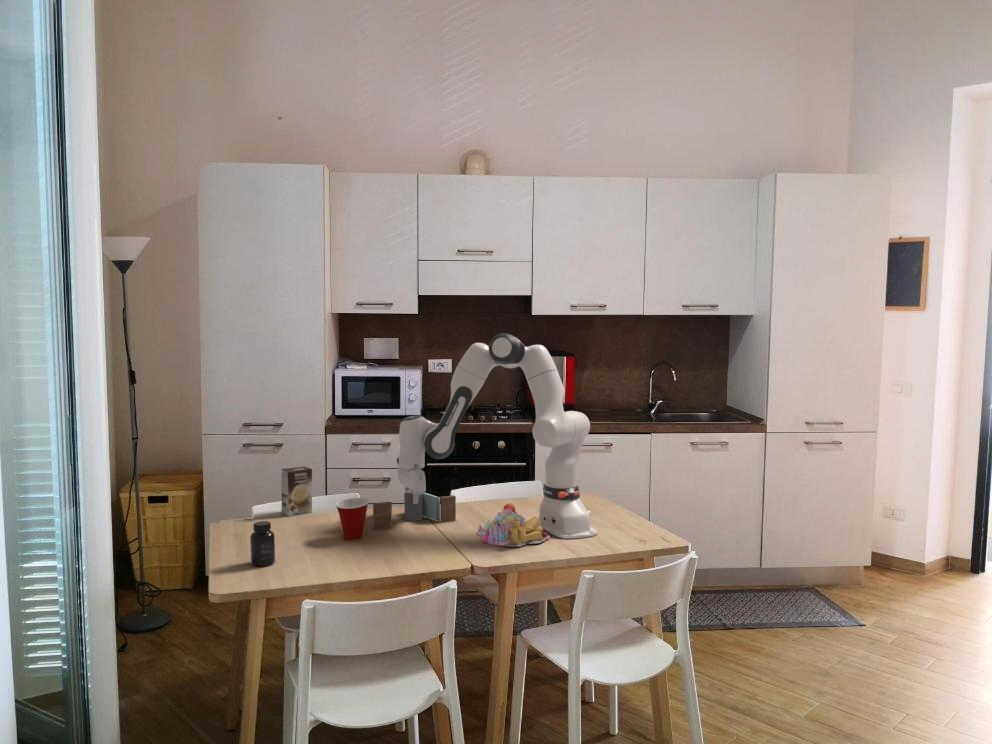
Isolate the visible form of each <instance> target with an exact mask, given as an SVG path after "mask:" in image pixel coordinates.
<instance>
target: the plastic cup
mask: <svg viewBox="0 0 992 744" xmlns="http://www.w3.org/2000/svg"><path fill="white" fill-rule="evenodd" d="M369 503H370V500H369V499H368V498H365V497H353V498H345V499H340V500H338V501H337V502H335V504H334V506H335V507H336V509H337V512H338V515H339V519H340V526H341V529H342V535H343V539H345V540H347V541H357V540H361V539H362V538H363V533H364V530H365V521H366V516H367V511H368V505H369Z"/></svg>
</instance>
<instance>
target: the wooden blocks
mask: <svg viewBox="0 0 992 744" xmlns="http://www.w3.org/2000/svg"><path fill="white" fill-rule="evenodd" d="M456 499H457V497H456V495H447V496H446V495H445V496H444V495H443V496H440V521H439V522H441V523H445V522H446V523H447V522H456V519H457V518H456V510H457V509H456V507H457V506H456V504H457V502H456V501H457V500H456ZM392 506H393V503H392V501H382V502H373V504H372V528H373V530H381V529H382V530H383V529H392V528H393V519H392V518H393V517H392V514H393V510H392V509H393V507H392Z"/></svg>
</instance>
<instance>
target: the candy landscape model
mask: <svg viewBox="0 0 992 744" xmlns="http://www.w3.org/2000/svg"><path fill="white" fill-rule="evenodd" d="M502 508H503V509H502V511H501V512H499V511H498V512H497V515H496V516H495V517H494V519H492V518H491V519H490V518H489V519H488V521H487V522H486V523H485V525H483V526H482V524H479V527H478V529H477V532H476V534H477V535H478V536H479V537H482V539H481V541H482V542H483V543H485V544H488V545H492V546H497V547H498V548H499V546H501V547H502V546H503V547H509V548H517V547H518V548H519V547H522V546H525V545H533V544H534V545H536V544H540V543H542V542H545V541H546V540H548V539H551V536H552V534H550V533H549V532H548V531H546V530H545V529H544V528H542V527H541V525H540V523H541V521H540V520H539V517H536V516H532V517H531V519H528V520H526V519H525V517H524V516H523V515H521V514H518V512H517V511H516V507H515V505H514V504H513V503H511V502H510V503H509V502H508V503H506V504H504V506H503V507H502Z"/></svg>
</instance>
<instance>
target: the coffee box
mask: <svg viewBox="0 0 992 744" xmlns="http://www.w3.org/2000/svg"><path fill="white" fill-rule="evenodd" d="M281 513H282V514H284V515H286V516H287V517H294V516H300V515H305V514H306V515H307V514H312V513H313V468H311V467H308V466H296V467H295V466H294V467H287V468H281Z"/></svg>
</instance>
